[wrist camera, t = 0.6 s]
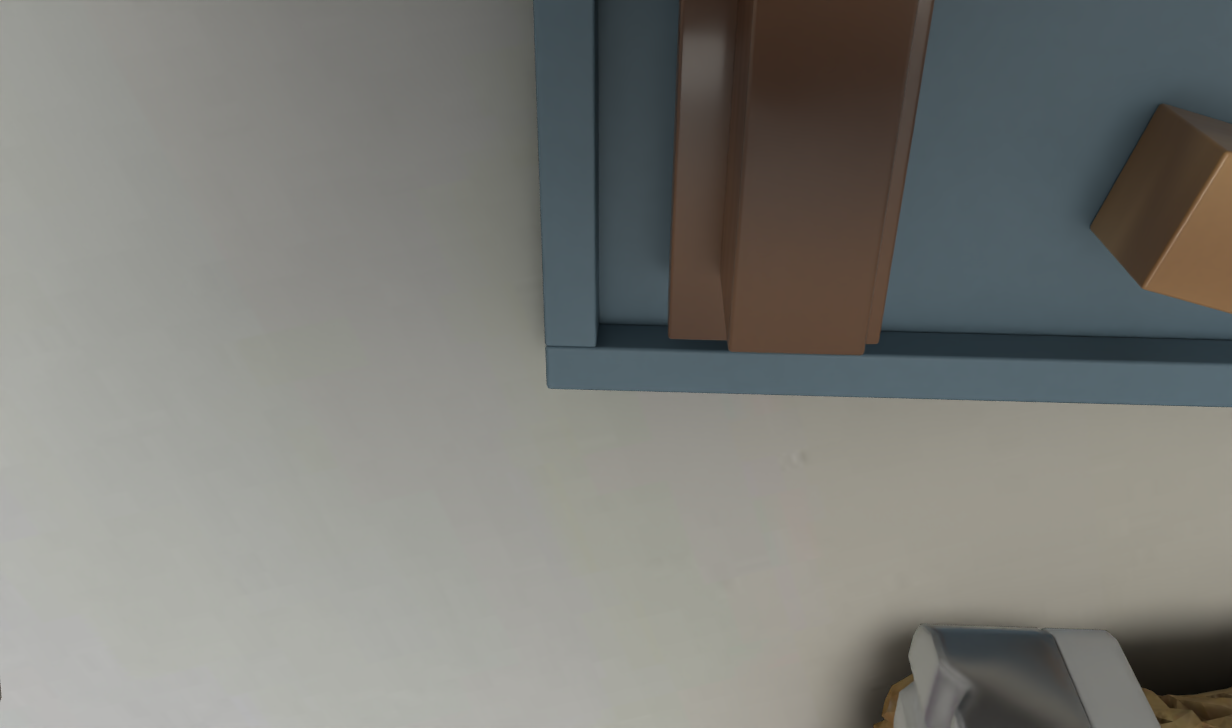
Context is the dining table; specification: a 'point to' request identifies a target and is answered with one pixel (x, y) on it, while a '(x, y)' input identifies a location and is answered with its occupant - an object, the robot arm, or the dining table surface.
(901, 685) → the sponge
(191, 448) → the dining table surface
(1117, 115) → the tray
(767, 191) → the brush
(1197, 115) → the brown wooden cube
